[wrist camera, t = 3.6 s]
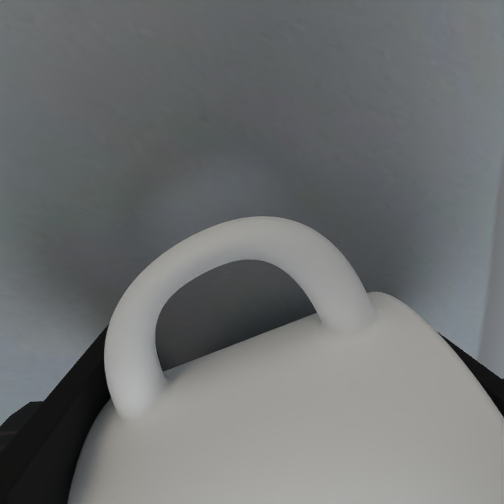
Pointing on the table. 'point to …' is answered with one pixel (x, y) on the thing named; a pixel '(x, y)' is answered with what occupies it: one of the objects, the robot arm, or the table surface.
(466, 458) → the mug
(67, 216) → the table surface
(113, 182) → the table surface
